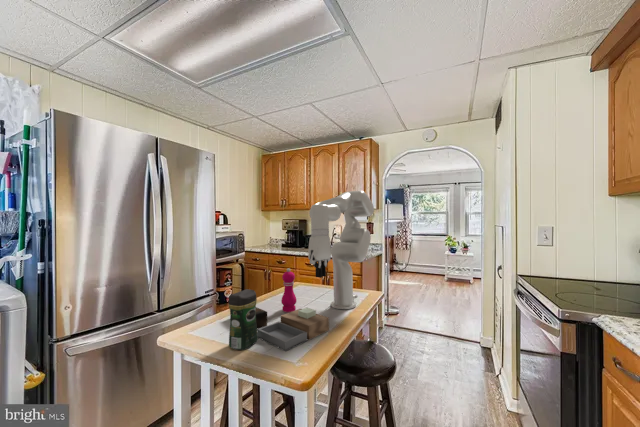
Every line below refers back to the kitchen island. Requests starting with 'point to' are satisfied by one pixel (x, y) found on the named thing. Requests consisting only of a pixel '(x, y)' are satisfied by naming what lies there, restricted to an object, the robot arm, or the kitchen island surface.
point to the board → (307, 323)
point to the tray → (282, 335)
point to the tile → (307, 313)
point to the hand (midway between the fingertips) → (320, 276)
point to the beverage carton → (261, 318)
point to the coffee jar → (242, 319)
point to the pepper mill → (288, 292)
